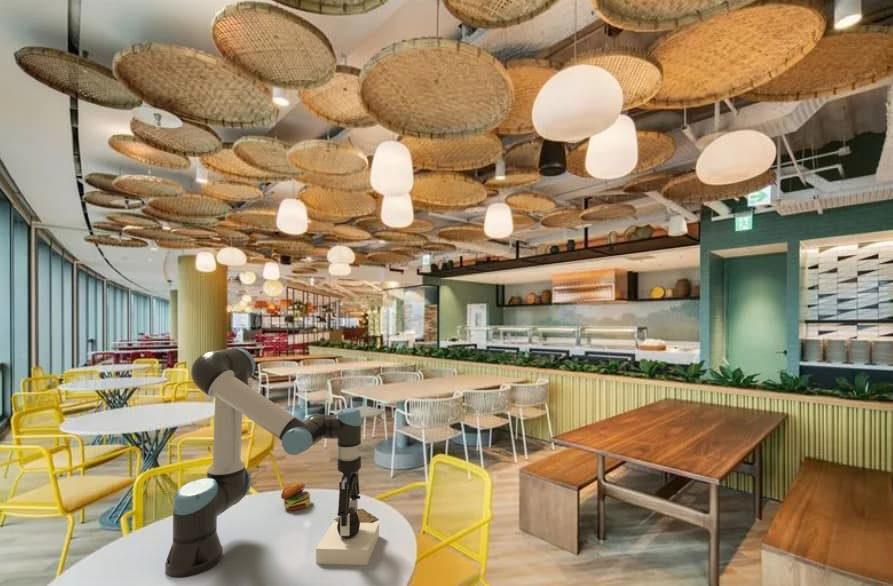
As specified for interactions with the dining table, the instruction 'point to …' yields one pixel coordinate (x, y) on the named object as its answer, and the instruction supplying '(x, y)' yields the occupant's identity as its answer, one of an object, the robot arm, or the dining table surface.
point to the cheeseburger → (295, 496)
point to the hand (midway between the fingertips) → (349, 527)
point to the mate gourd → (351, 523)
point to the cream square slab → (348, 546)
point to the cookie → (363, 517)
